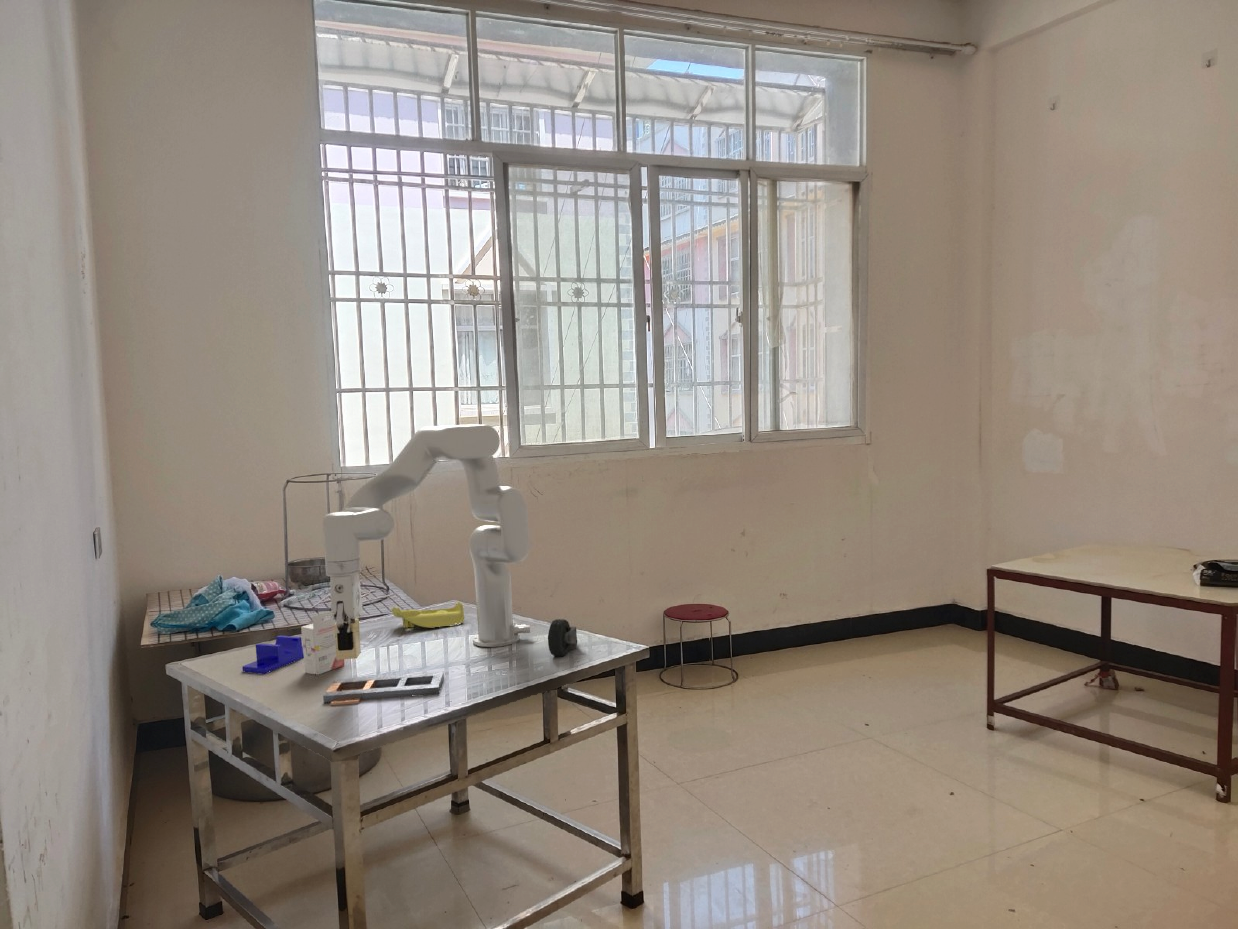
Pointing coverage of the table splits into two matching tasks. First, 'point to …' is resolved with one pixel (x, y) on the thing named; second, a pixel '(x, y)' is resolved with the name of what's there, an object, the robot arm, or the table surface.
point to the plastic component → (431, 617)
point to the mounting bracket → (276, 654)
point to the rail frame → (364, 688)
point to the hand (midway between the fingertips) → (348, 645)
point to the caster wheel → (561, 637)
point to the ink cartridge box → (320, 645)
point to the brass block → (356, 642)
